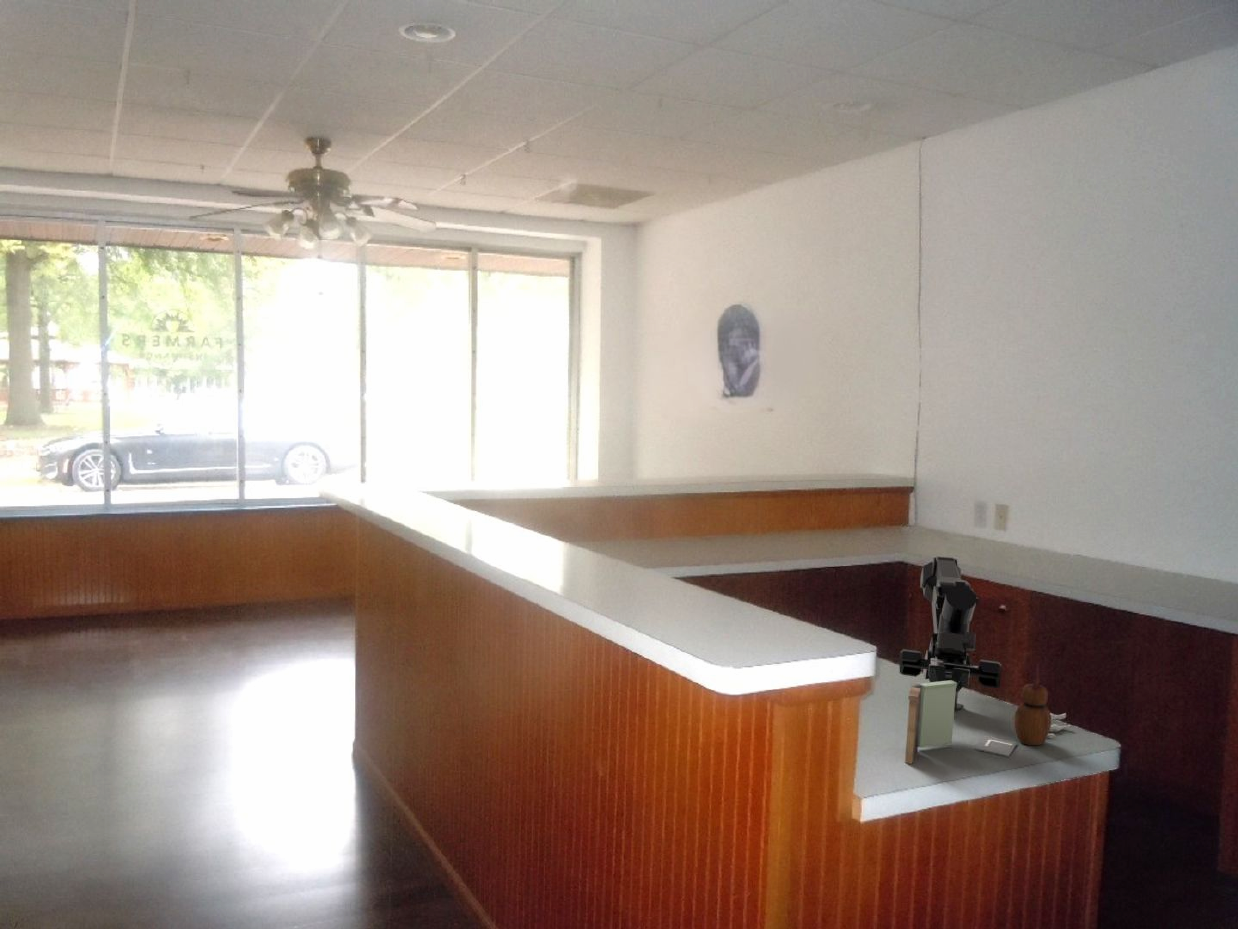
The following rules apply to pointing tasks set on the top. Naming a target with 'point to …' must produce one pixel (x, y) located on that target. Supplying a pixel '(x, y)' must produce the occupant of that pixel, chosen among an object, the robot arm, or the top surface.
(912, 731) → the brown upright slab
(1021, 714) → the wooden figurine
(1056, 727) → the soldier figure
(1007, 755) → the card
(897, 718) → the top surface
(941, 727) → the pale green rectangular panel
